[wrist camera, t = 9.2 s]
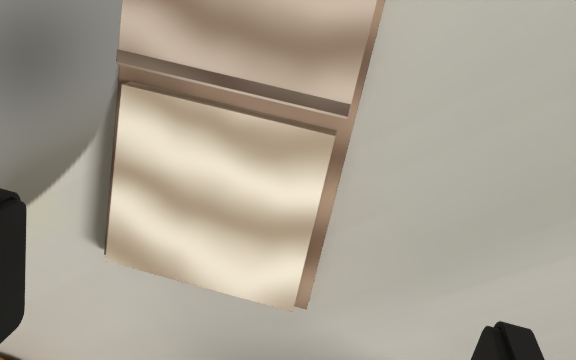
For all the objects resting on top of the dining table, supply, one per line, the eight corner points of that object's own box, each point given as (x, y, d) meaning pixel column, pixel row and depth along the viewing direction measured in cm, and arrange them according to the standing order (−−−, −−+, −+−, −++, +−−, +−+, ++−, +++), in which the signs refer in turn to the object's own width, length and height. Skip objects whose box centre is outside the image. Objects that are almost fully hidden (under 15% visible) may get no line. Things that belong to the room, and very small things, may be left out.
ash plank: (131, 81, 38) (121, 84, 37) (336, 130, 37) (335, 136, 36) (114, 252, 43) (105, 260, 42) (295, 301, 42) (292, 311, 40)
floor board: (139, -95, 35) (121, -100, 33) (395, -40, 34) (396, -42, 31) (109, 248, 45) (93, 264, 42) (308, 302, 43) (303, 321, 41)
